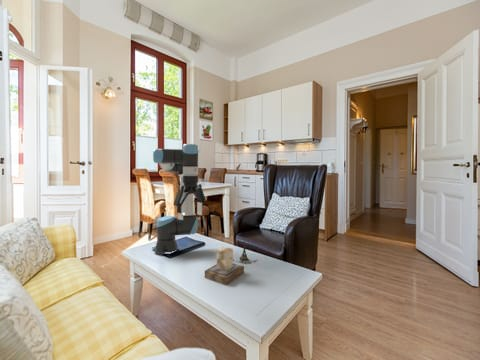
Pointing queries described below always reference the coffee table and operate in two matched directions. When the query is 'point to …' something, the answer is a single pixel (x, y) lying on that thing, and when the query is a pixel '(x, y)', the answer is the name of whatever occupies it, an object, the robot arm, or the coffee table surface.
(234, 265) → the walnut frame
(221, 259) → the oak block
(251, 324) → the coffee table surface
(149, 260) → the coffee table surface
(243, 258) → the eiffel tower figurine
